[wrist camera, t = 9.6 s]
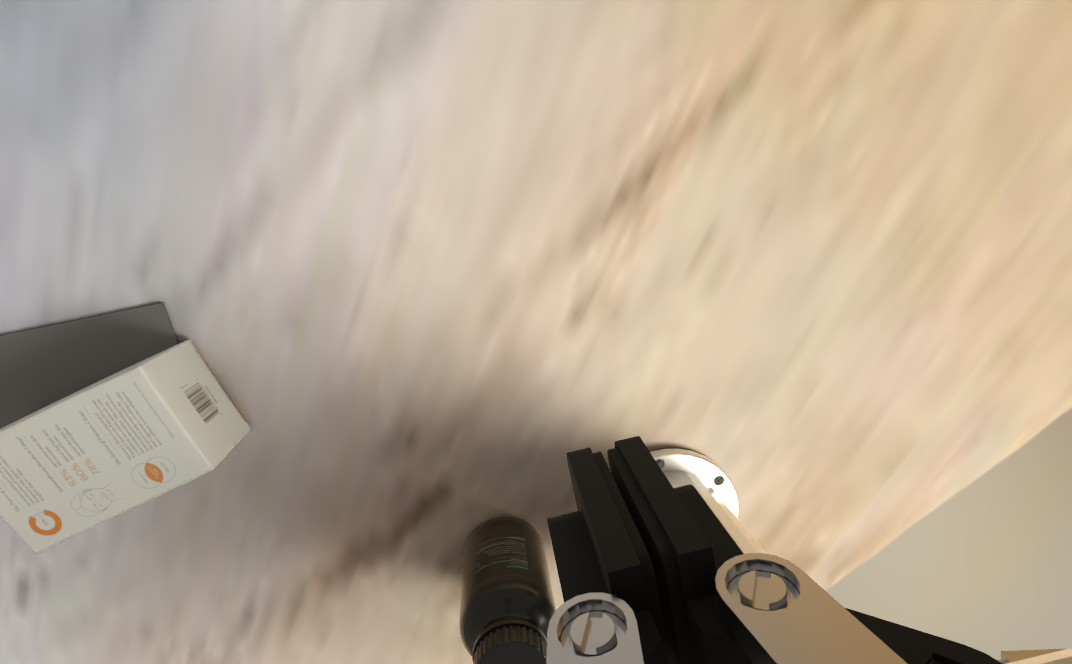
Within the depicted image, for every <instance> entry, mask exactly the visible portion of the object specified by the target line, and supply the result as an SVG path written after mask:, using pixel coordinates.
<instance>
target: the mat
mask: <svg viewBox="0 0 1072 664" xmlns="http://www.w3.org/2000/svg"><path fill="white" fill-rule="evenodd" d="M177 344H179V342H178V340H177V337H176V334H175V332H174V329H173V327H172V324H171V321H170V319H169V316H168V314H167V311H166V309H165V306H164V303H158V304H153V305H148V306H143V307H138V308H133V309H128V310H124V311H119V312H114V313H109V314H104V315H99V316H94V317H89V318H84V319H79V320H74V321H69V322H65V323H60V324H55V325H50V326H45V327H40V328H35V329H30V330H25V331H20V332H15V333H10V334H6V335H1V336H0V429H1V428H3V427H5V426H7V425H9V424H11V423H13V422H15V421H17V420H19V419H21V418H23V417H25V416H27V415H30V414H32V413H34V412H36V411H38V410H40V409H42V408H44V407H46V406H48V405H50V404H52V403H54V402H56V401H58V400H60V399H63V398H65V397H67V396H69V395H71V394H73V393H75V392H77V391H79V390H81V389H83V388H85V387H88V386H90V385H92V384H94V383H96V382H98V381H100V380H102V379H104V378H106V377H109V376H111V375H113V374H115V373H117V372H119V371H121V370H123V369H126V368H128V367H130V366H132V365H134V364H136V363H138V362H141V361H143V360H145V359H147V358H149V357H151V356H154V355H156V354H158V353H160V352H162V351H164V350H166V349H169V348H171V347H173V346H175V345H177Z"/></svg>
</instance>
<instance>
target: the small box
mask: <svg viewBox="0 0 1072 664" xmlns="http://www.w3.org/2000/svg"><path fill="white" fill-rule="evenodd" d="M250 430H251V428H250V426H249V425H248V423H247V422H246V421H245V420H244V419H243V418H242V416H241V415H240V413H239V412H238V410H237V409H236V408H235V406H234V405H233V403H232V402H231V401H230V399H229V398H228V396H227V395H226V393H225V392H224V390H223V389H222V387H221V386H220V384H219V383H218V381H217V380H216V379H215V377H214V376H213V374H212V373H211V371H210V370H209V368H208V367H207V365H206V364H205V362H204V361H203V359H202V358H201V356H200V355H199V353H198V352H197V350H196V349H195V347H194V345H193V344H192V342H191V341H190V340H186V341H184V342H181V343H179V344H177V345H175V346H173V347H171V348H169V349H166V350H164V351H162V352H160V353H158V354H156V355H154V356H151V357H149V358H147V359H145V360H143V361H141V362H138V363H136V364H134V365H132V366H130V367H128V368H126V369H123V370H121V371H119V372H117V373H115V374H113V375H111V376H109V377H106V378H104V379H102V380H100V381H98V382H96V383H94V384H92V385H90V386H88V387H85V388H83V389H81V390H79V391H77V392H75V393H73V394H71V395H69V396H67V397H65V398H63V399H60V400H58V401H56V402H54V403H52V404H50V405H48V406H46V407H44V408H42V409H40V410H38V411H36V412H34V413H32V414H30V415H27V416H25V417H23V418H21V419H19V420H17V421H15V422H13V423H11V424H9V425H7V426H5V427H3V428H1V429H0V517H1V518H2V519H3V520H4V521H5V522H6V523H7V524H8V525H9V526H10V527H11V528H12V529H13V530H14V532H15V533H16V534H17V535H18V536H19V537H20V538H21V539H22V540H23V541H24V543H25V544H26V545H27V546H28V547H29V548H30V549H31V550H32V551H33V552H34V553H36V554H38V553H40V552H42V551H44V550H46V549H48V548H50V547H52V546H54V545H56V544H58V543H60V542H62V541H64V540H66V539H69V538H71V537H73V536H75V535H77V534H79V533H81V532H83V531H86V530H88V529H90V528H92V527H94V526H96V525H98V524H100V523H103V522H105V521H107V520H109V519H111V518H113V517H115V516H117V515H120V514H122V513H124V512H126V511H128V510H130V509H132V508H135V507H137V506H139V505H141V504H143V503H145V502H147V501H150V500H152V499H154V498H156V497H158V496H160V495H162V494H164V493H167V492H169V491H171V490H173V489H175V488H177V487H179V486H181V485H183V484H186V483H188V482H190V481H192V480H194V479H196V478H198V477H200V476H202V475H205V474H206V473H208V472H210V471H212V470H213V469H215V467H216V466H217V465H218V464H219V463H220V462H221V461H222V460H223V459H224V458H225V457H226V456H227V455H228V454H229V453H230V451H231V450H232V449H233V448H234V447H235V446H236V445H237V444H238V443H239V442H240V441H241V440H242V439H243V438H244V436H245V435H246V434H247V433H248V432H249V431H250Z"/></svg>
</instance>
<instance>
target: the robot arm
mask: <svg viewBox="0 0 1072 664" xmlns="http://www.w3.org/2000/svg"><path fill="white" fill-rule="evenodd" d="M607 452H608V459H609V464H610V470H611V472H610V470H609V468H608V466H607V464H606V462H605V460H604V457H603V455H602V453H601V452H597V453H592V451H591V449H590V448H586V449H582V450H578V451H573V452H569V453H567V460H568V465H569V469H570V474H571V479H572V484H573V489H574V493H575V498H576V503H577V508H578V511H577V512H573V513H569V514H565V515H561V516H556V517H552V518H548V519H547V521H548V526H549V531H550V536H551V540H552V545H553V550H554V555H555V560H556V565H557V569H558V574H559V579H560V584H561V589H562V594H563V598H564V604H562V605H561V606H560V607H559V608H558V609H557V610H556V611H555V613H554V614H553V616H552V618H551V619H550V622H549V626H548V631H547V657H546V664H1072V648H1069V649H1048V650H1021V651H1001V660H995V659H993V658H992V657H990V656H989V655H987V654H985V653H983V652H980V651H978V650H976V649H973V648H971V647H968V646H966V645H963V644H960V643H956V642H953V641H950V640H947V639H943V638H940V637H937V636H934V635H931V634H928V633H924V632H921V631H918V630H915V629H911V628H908V627H905V626H901V625H899V624H895V623H892V622H889V621H885V620H882V619H879V618H876V617H873V616H869V615H866V614H863V613H860V612H857V611H853V610H850V609H847V608H844V607H843V606H842V605H841V604H839V603H838V602H837V601H836V600H835V599H834V598H833V597H832V596H830V595H829V594H828V593H827V592H826V591H825V590H824V589H822V588H821V587H820V586H819V585H818V584H817V583H816V582H815V581H813V580H812V579H811V578H810V577H809V576H808V575H807V574H805V573H804V572H803V571H802V570H801V569H800V568H798V567H797V566H795V565H794V564H793V563H791V562H790V561H788V560H785V559H783V558H780V557H778V556H775V555H769V554H766V553H765V552H764V551H763V549H762V548H761V547H760V546H759V544H758V543H757V542H756V541H755V539H754V538H753V537H752V536H751V534H750V533H749V532H748V531H747V529H746V528H745V527H744V526H743V524H742V523H741V522H740V521H739V501H738V497H737V492H736V490H735V488H734V486H733V484H732V481H731V480H730V479H729V478H728V476H727V475H726V474H725V472H724V471H723V470H722V469H721V468H720V467H719V466H718V465H717V464H716V463H715V462H713V461H712V460H710V459H709V458H707V457H706V456H704V455H701V454H699V453H696V452H694V451H690V450H684V449H660V450H655V451H650V452H649V450H648V449H647V447H646V446H645V444H644V443H643V441H642V440H641V438H640V437H639V436H637V437H633V438H628V439H624V440H620V441H616V442H615V448H614V449H610V450H608V451H607ZM656 460H657V461H656Z"/></svg>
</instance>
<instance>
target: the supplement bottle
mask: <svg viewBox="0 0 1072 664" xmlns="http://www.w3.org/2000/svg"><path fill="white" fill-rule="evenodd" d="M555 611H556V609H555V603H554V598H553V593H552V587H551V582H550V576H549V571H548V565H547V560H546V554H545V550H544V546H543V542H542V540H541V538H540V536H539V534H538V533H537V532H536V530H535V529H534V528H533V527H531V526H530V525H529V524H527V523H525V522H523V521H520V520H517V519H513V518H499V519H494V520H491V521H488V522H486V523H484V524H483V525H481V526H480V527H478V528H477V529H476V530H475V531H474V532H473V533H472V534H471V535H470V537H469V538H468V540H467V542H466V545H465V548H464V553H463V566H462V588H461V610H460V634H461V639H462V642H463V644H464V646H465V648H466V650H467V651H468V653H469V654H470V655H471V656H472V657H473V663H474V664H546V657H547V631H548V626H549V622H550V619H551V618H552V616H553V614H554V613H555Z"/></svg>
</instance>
